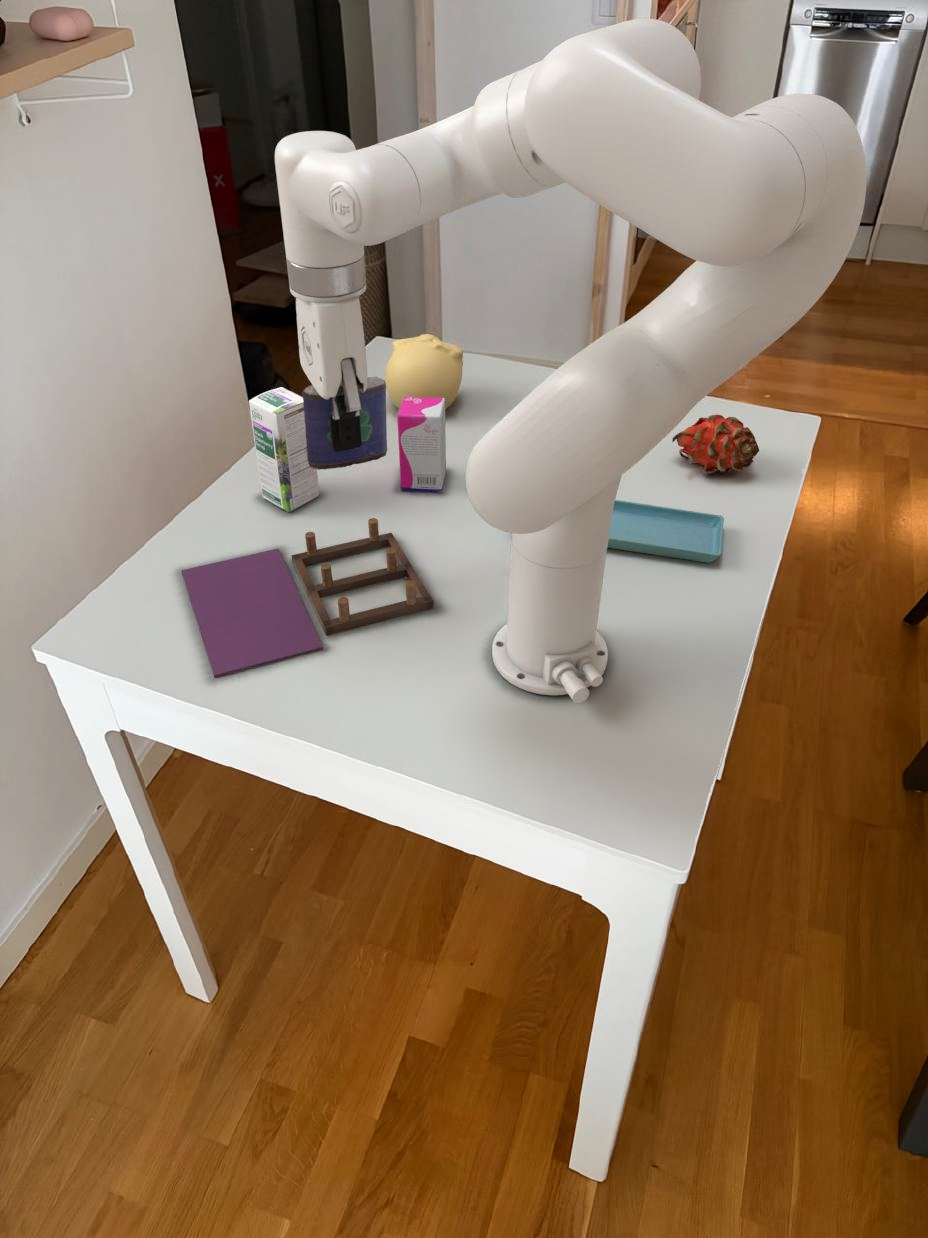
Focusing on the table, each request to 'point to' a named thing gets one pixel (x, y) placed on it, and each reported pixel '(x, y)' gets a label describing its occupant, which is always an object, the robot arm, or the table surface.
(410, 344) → the sculpture
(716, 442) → the dragon fruit
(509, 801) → the table surface
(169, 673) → the table surface
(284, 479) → the syrup box
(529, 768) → the table surface
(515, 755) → the table surface
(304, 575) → the dish rack
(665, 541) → the teal serving tray
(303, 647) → the mat
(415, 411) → the supplement box
